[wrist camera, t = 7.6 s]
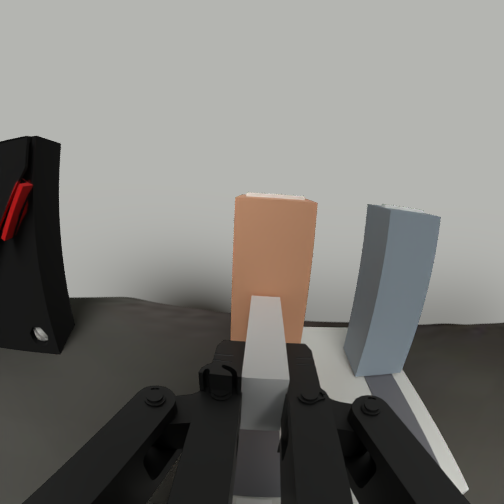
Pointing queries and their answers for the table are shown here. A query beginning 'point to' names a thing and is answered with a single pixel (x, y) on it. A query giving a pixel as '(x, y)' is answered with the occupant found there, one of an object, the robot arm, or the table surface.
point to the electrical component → (32, 248)
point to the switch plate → (343, 390)
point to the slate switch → (390, 287)
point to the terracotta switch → (272, 258)
